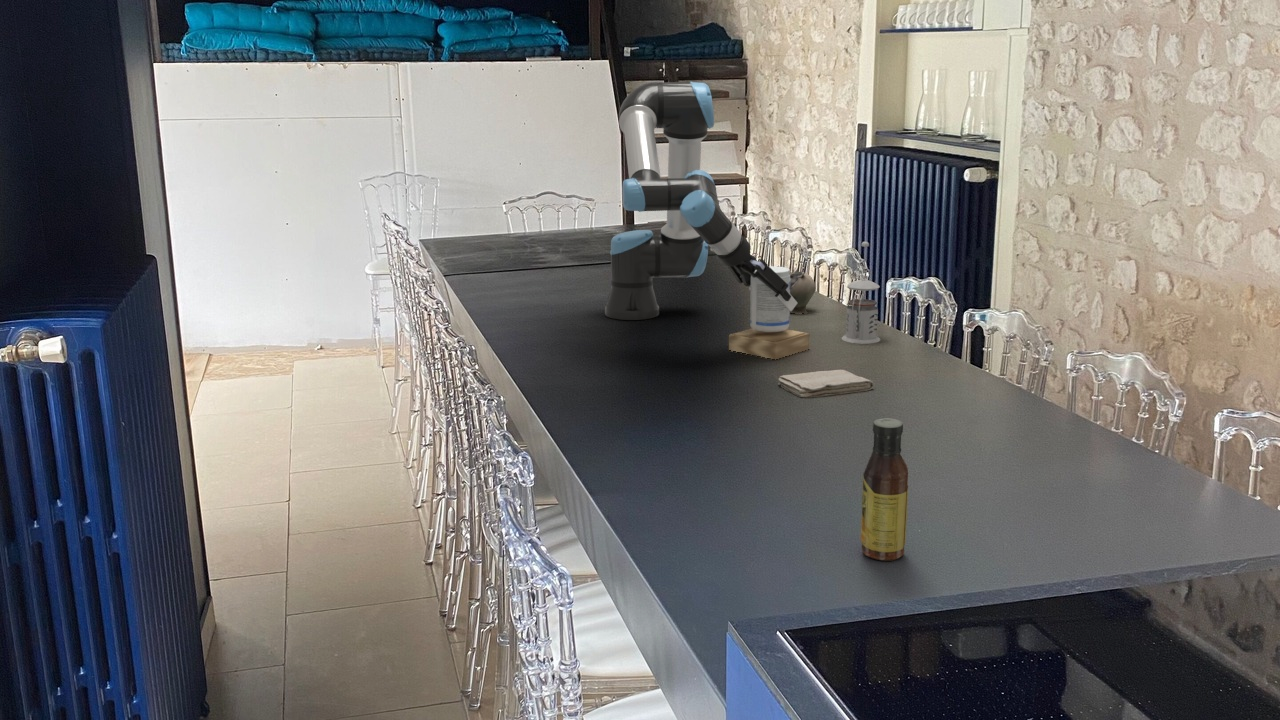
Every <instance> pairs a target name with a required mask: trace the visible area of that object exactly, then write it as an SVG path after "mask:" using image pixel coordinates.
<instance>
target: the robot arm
mask: <svg viewBox="0 0 1280 720" xmlns="http://www.w3.org/2000/svg"><path fill="white" fill-rule="evenodd" d="M618 112H619V113H618V124H619V128H620V130H621V132H622V133H623V135H624V144H625V152H626V162H627V170H628V171H627V172H628V178H627V179H624V180H623V182H622V191H621V192H622V193H621V194H622V197H621V198H622V206H623V209H624V210H626V211H630V212H636V211H637V212H640V213H641V212H660V211H661V212H665V211H666V224H664V225H663V226H662V227H661V228H660V234H659V235H654V233H653V231H652V230H650V229H643V230H642V229H637V230H630V231H625V232H624V231H623V232H621V233H618V234H615V235H614V236H613V237H612V238H611V239H610V251H609V254H610V291H609V295H608V297H607V302H606V304H605V307H604V315H605V317H608V318H609V319H610V318H611V319H613V320H620V321H621V320H624V321H639V320H649V319H653V318H657V317H659V315H660V306H659V304H658V303H657V298H656V293H655V290H654V287H653V286H654V284H653V281H654V279H653V278H684V279H686V278H691V277H692V278H693V277H699V276H701V275H703V273H704V272H705V269H706V266H707V261H708V255H709V247H710V252H713V253H714V254H716V255H717V257H718V258H719V259H720V261H722V263H723V264H724V265H725V266H726V267H727V268H728V269H729V270H730V272H731V274H732V275H733V277H734V278H735V279H736V281H737V282H738V283H739V284H740V285H742V284H743V286H745V287H748V288H747V289H748V290H750V291H751V276H752V277H754V278H755V277H757V278H758V279H759V280H761V281H762V282H763V283H764V284H766V285H767V286H768V287H769V288H771V289H772V290H773V291H774V292H775V293H776V294H775V296H776V297H778V298H779V300H780V301H781V302H782V303H783V304H784V305H785V307H786V308H787V309H788V310H789V311H792V310H793V309H794V307H795V306H796V305H797V301H796V300H795V299H794V298H793V297H792V296H791V294H790V293H789V292H788V291H787V290H786V289H787V288H788V286H789V285H788V284H787V283H786V282H785V281H784V280H783V279H782V278H780V277H779V276H778V275H777V274H776V273H775V272H774V271H773V270H772V269H771V268H770V267H769V265H768V263H766V261H765V260H764V259H762V258H760V259H759V261H758V260H757V258H756V257H755V256H754V255H752V254H751V248H752V247H751V244H750V242H749V241H748V240H747V239H746V237H745V236H744V235H742V233H741V231H740V230H739V229H738V227H737V226H736V225H735V224H734V223H733V222H732V221H731V220H730V219H729V218H728V217H727V215H726V214H725V213H724V211H723V210H722V209H721V206H720V202H719V199H718V193H717V187H716V184H715V181H714V179H713V177H712V176H711V174H709V173H708V172H707V171H705V170H701V156H702V154H701V153H702V141H703V140H704V139H705V138H706V137H707V136H708V129H711V128H712V129H713V128H714V125H715V124H714V123H715V113H714V104H713V97H712V93H711V89H710V87H709V85H708V84H706V82H695V81H691V80H690V81H669V82H668V81H666V82H665V81H664V82H658V81H655V82H652V81H651V82H648V83H647V82H646V83H643V84H641V85H639V86H637V87H636V88H635V89H633V90H632V91H631V92H629V93H628V95H627V96H626V97H625V99H624V100H623V101H622V103H621V105H620V108H619V111H618ZM655 129H663V130H662V131H663V136H664V137H665V138H666V139H667V140H668V159H667V160H668V161H667V162H668V166H667V178H665V177H664V178H661V176H662V175H661V169H660V162H659V157H658V148H657V141H656V135H655ZM755 270H756V272H755V273H753V272H754V271H755Z"/></svg>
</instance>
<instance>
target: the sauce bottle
mask: <svg viewBox="0 0 1280 720" xmlns="http://www.w3.org/2000/svg"><path fill="white" fill-rule="evenodd" d="M872 423H873V424H872V432H873V446H872V453H871V455H870V457H869V459H868V462H867V464H866V466H865V469H864V471H863V474H862V496H861V497H862V499H861V523H860V525H861V526H860V527H861V529H860V543H861V550H862V552H863V555H864V556H865V557H868V558H871V559H873V560H877V561H884V562H891V561H895V560H898V559H900V558H902V557H904V554H905V546H906V542H907V541H906V540H907V526H908V525H907V520H908V517H907V516H908V502H909V501H908V499H909V498H908V497H909V485H908V483H909V482H908V481H909V468H908V465H907V464H906V462H905V460H904V458H903V456H902V454H901V453H902V448H901V447H902V446H901V445H902V434H903V432H904V431H903V430H904V423H903V422H902V421H901V420H900V419H895V418H890V417H885V418H877V419H875V420H874V421H873V422H872Z"/></svg>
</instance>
